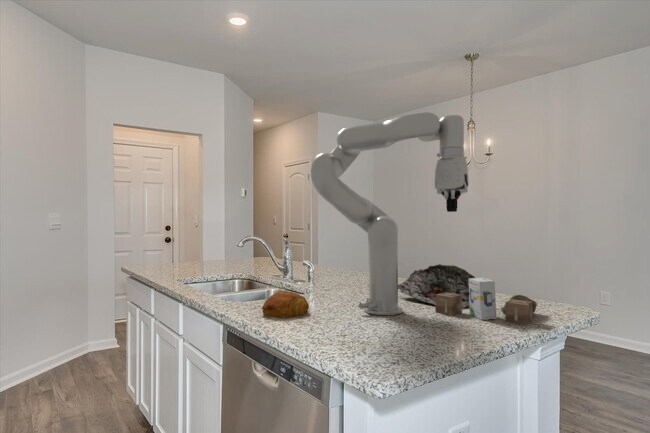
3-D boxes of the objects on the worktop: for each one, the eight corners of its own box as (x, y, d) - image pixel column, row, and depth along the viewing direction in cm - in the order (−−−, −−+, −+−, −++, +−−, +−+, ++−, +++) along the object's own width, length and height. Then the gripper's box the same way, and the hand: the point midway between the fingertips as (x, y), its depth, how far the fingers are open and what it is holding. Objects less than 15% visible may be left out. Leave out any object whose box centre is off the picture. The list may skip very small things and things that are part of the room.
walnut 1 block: (527, 325, 120) (527, 304, 120) (505, 322, 124) (505, 302, 124) (532, 321, 125) (532, 301, 125) (510, 318, 128) (510, 298, 128)
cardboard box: (451, 316, 132) (451, 296, 132) (435, 312, 137) (435, 294, 137) (462, 313, 136) (462, 294, 136) (446, 310, 141) (446, 292, 141)
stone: (506, 303, 141) (521, 286, 138) (526, 320, 137) (542, 303, 134) (496, 311, 131) (512, 293, 128) (517, 329, 127) (535, 311, 124)
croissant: (282, 313, 147) (279, 290, 148) (316, 312, 138) (314, 288, 138) (251, 320, 135) (249, 295, 136) (287, 320, 126) (285, 293, 127)
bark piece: (489, 290, 149) (424, 268, 173) (483, 273, 145) (417, 254, 169) (461, 327, 142) (397, 300, 166) (454, 312, 138) (389, 286, 162)
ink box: (496, 320, 126) (496, 281, 126) (480, 320, 126) (480, 281, 126) (483, 313, 135) (483, 277, 135) (468, 313, 135) (467, 277, 135)
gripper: (425, 156, 138) (425, 211, 138) (465, 150, 126) (466, 211, 126) (439, 158, 142) (439, 212, 142) (479, 153, 131) (479, 211, 131)
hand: (451, 211), depth 134 cm, fingers closed
